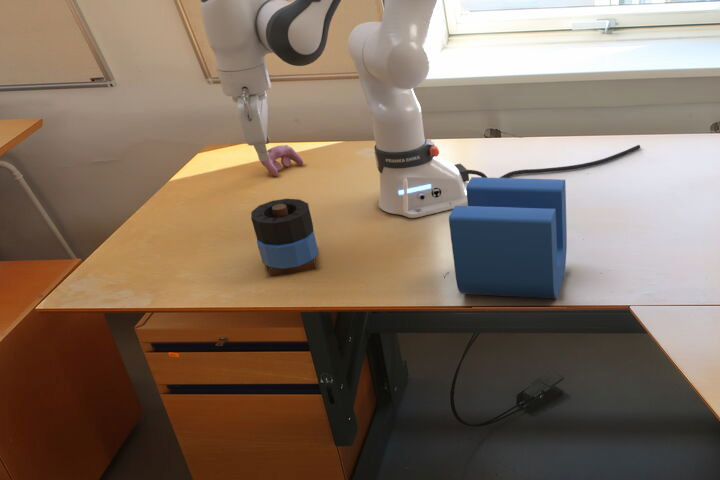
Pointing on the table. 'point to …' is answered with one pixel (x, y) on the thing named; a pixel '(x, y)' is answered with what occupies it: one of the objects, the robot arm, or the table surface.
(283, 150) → the video game controller
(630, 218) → the table surface
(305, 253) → the blue tape
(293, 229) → the ring
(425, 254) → the table surface
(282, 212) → the wooden stand
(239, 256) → the table surface
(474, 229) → the block
